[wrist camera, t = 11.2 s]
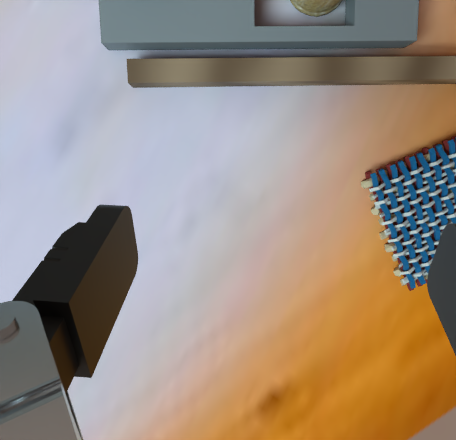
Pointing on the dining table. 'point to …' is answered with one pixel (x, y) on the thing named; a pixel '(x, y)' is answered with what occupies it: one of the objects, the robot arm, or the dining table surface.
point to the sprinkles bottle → (315, 6)
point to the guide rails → (291, 71)
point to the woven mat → (415, 207)
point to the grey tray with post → (249, 26)
